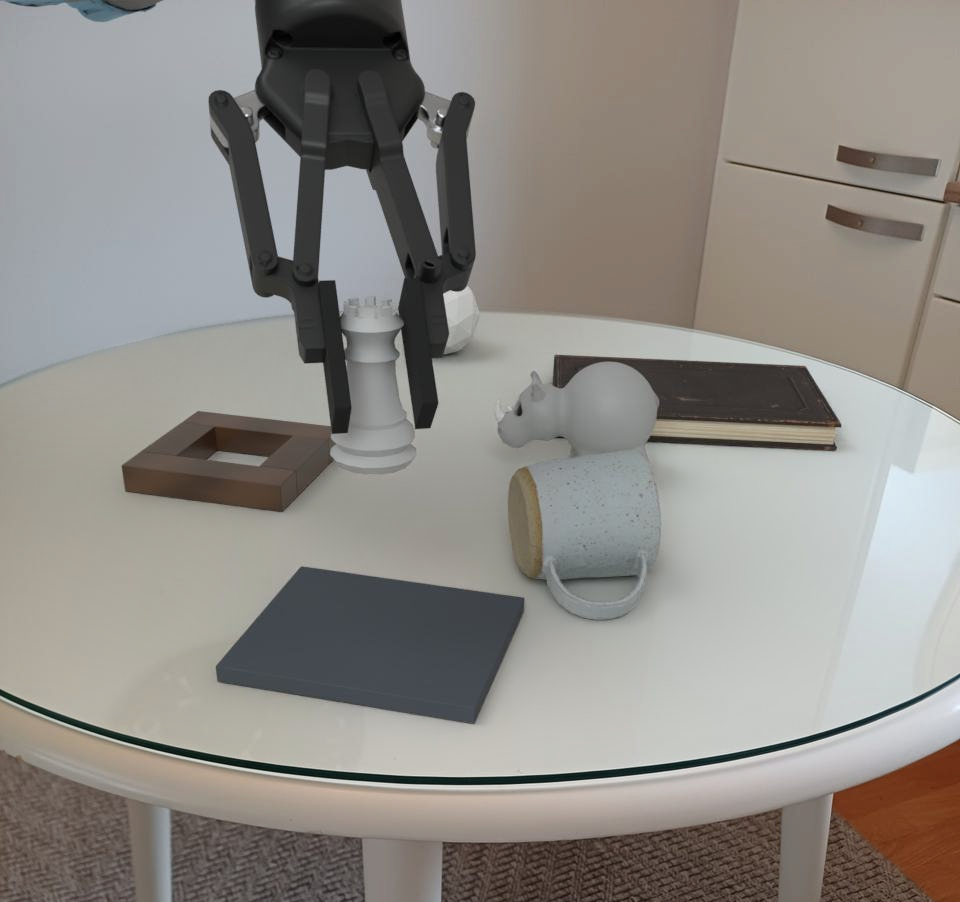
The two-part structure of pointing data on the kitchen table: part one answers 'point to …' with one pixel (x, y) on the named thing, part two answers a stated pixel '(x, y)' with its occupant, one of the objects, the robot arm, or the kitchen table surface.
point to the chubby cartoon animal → (584, 411)
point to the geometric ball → (460, 318)
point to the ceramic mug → (586, 525)
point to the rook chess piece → (373, 392)
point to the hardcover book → (727, 402)
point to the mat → (377, 643)
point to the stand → (270, 486)
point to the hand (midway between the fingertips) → (384, 417)
